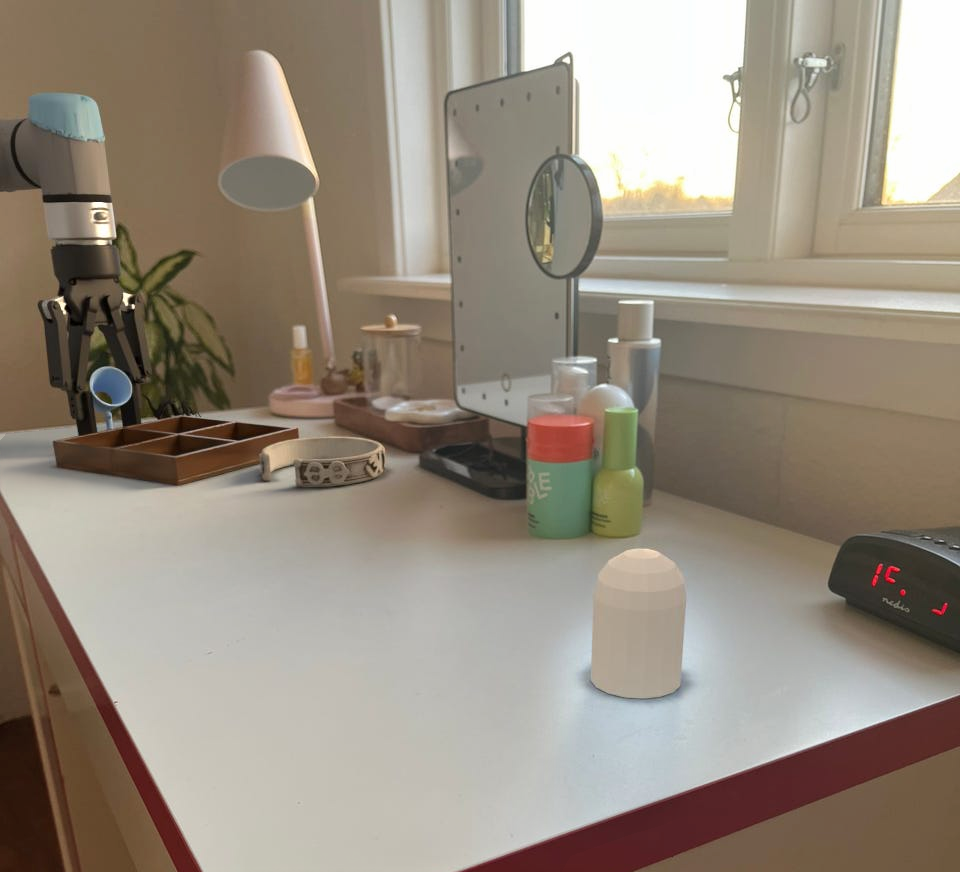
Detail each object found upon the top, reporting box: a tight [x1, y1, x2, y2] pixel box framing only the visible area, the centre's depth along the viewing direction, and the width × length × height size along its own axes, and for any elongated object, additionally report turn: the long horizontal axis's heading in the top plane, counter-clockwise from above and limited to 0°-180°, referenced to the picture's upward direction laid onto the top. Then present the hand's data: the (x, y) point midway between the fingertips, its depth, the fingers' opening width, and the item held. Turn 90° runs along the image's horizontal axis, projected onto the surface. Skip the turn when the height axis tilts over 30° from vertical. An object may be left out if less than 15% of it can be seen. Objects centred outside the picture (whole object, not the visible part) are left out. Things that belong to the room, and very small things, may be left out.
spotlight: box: [89, 366, 132, 430], centre depth 127 cm, size 5×10×7 cm
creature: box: [141, 391, 202, 420], centre depth 142 cm, size 8×5×8 cm
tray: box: [52, 415, 300, 486], centre depth 121 cm, size 20×20×3 cm
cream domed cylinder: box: [590, 548, 687, 700], centre depth 59 cm, size 5×5×8 cm
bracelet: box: [259, 435, 387, 488], centre depth 113 cm, size 14×14×3 cm
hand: (112, 440), depth 128 cm, fingers open, 6 cm apart
